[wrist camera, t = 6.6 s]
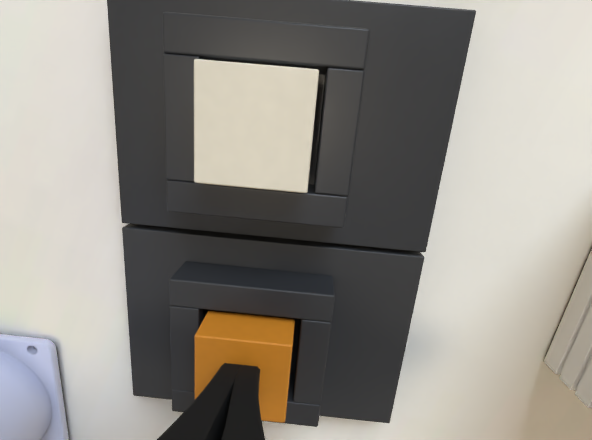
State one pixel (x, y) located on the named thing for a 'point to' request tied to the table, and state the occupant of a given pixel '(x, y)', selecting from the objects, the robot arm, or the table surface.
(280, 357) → the amber key
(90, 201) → the table surface
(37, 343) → the robot arm
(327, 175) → the keypad
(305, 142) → the white key
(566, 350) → the stack of papers
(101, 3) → the table surface
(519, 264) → the table surface
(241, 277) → the keypad
